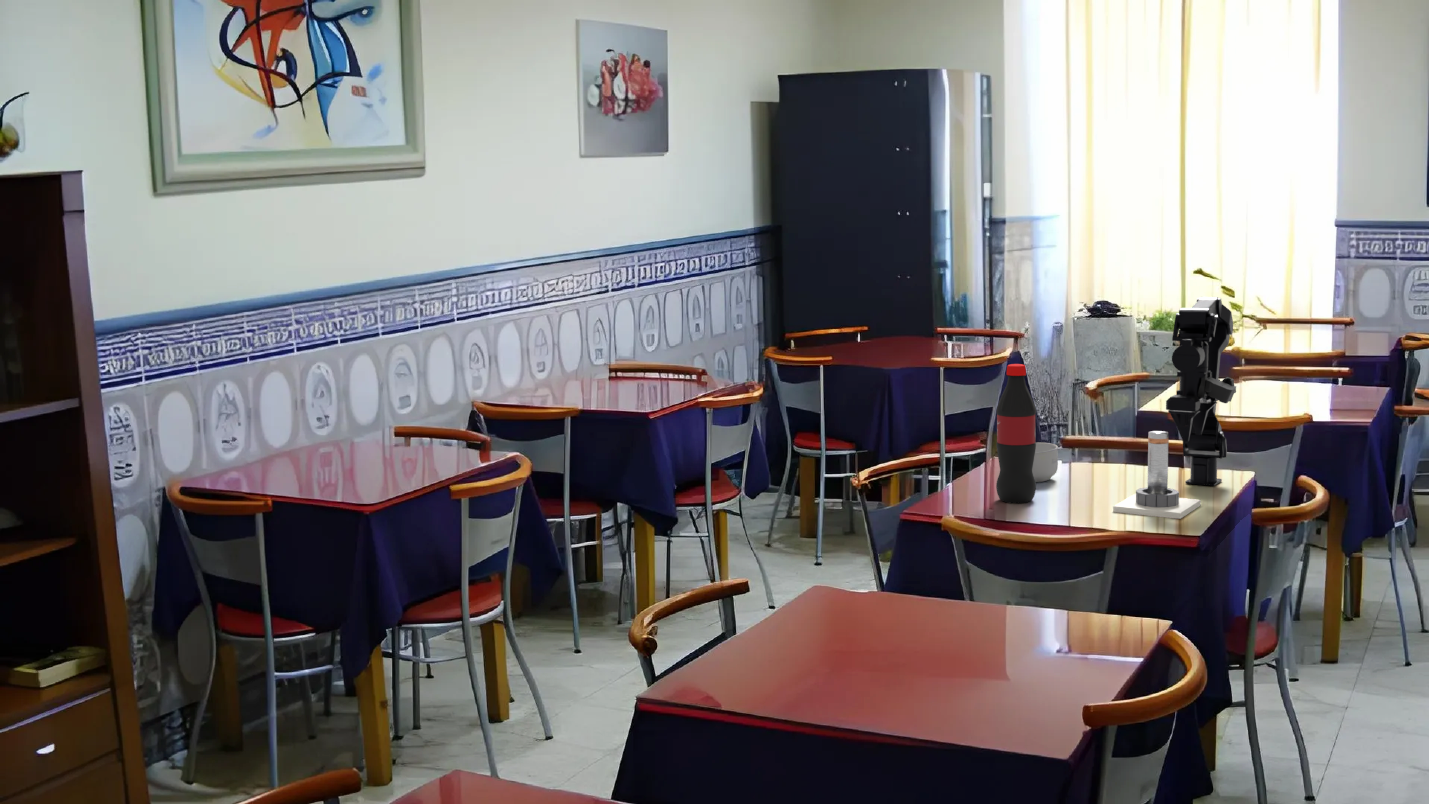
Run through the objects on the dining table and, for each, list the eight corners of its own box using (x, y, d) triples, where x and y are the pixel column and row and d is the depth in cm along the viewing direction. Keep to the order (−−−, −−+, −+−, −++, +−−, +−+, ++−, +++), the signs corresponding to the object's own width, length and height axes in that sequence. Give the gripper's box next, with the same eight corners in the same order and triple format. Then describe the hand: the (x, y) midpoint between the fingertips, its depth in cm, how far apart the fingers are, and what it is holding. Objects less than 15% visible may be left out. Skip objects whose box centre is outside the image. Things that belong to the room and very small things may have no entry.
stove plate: (1135, 498, 315) (1135, 482, 315) (1200, 505, 307) (1200, 488, 307) (1113, 511, 304) (1113, 494, 303) (1180, 518, 296) (1180, 501, 296)
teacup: (1062, 484, 333) (1062, 449, 332) (1014, 485, 333) (1014, 450, 332) (1049, 472, 347) (1049, 439, 346) (1004, 473, 347) (1004, 440, 346)
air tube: (1145, 500, 308) (1146, 431, 306) (1165, 500, 307) (1166, 430, 305) (1148, 505, 304) (1149, 434, 302) (1169, 505, 303) (1170, 434, 301)
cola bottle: (1033, 496, 321) (1033, 361, 316) (1038, 504, 313) (1038, 366, 308) (994, 496, 322) (994, 362, 317) (998, 505, 313) (998, 367, 309)
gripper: (1219, 373, 299) (1218, 448, 301) (1244, 363, 314) (1242, 434, 317) (1165, 371, 305) (1164, 444, 308) (1192, 360, 321) (1191, 430, 323)
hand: (1192, 438), depth 313 cm, fingers open, 9 cm apart
